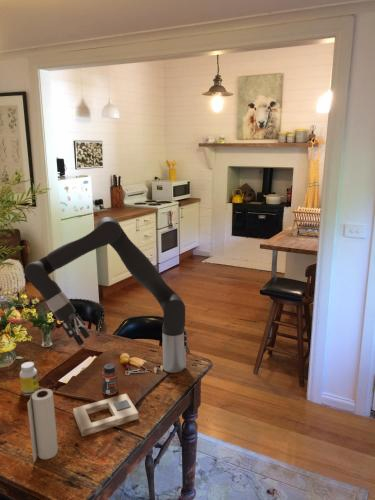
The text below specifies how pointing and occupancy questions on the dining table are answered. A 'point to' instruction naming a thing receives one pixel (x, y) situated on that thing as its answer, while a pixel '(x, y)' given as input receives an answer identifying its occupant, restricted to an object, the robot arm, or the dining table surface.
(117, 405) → the board
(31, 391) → the pill bottle
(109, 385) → the supplement bottle
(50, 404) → the paper towel roll
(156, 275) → the robot arm
